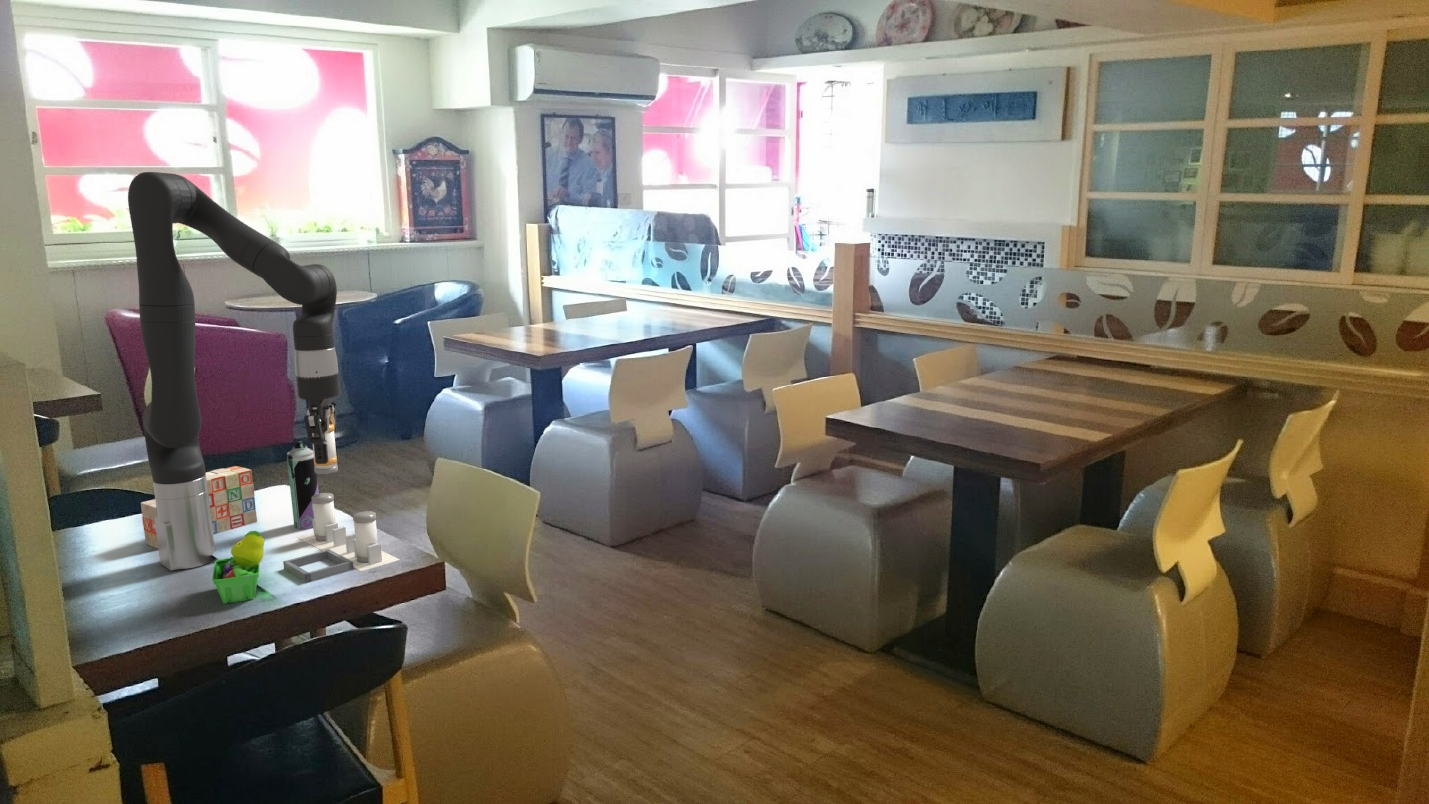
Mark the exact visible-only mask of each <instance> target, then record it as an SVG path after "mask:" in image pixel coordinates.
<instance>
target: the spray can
mask: <svg viewBox="0 0 1429 804" xmlns="http://www.w3.org/2000/svg"><path fill="white" fill-rule="evenodd" d="M304 442H305V441H304V440H300V441H297V442H296V441H295V442H294V446H293V447H292V449H291V450H290V451H288V452H287V453H286V456H287V457H286V461H287V470H288V479H289V480H288V481H289V488H290V489H289V490H290V498H291V507H292V517H293V519H292V520H293V526H294V529H296V530H310V529H313V519H314V512H313V503H312V496H313V495H316V494H320V492H319V485H318V484H319V483H318V482H319V481H318V474H316V473H315V470H314V467H315V465H314V453H313V449H311V448H308V446H307V445H306V444H305V443H304Z"/></svg>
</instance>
